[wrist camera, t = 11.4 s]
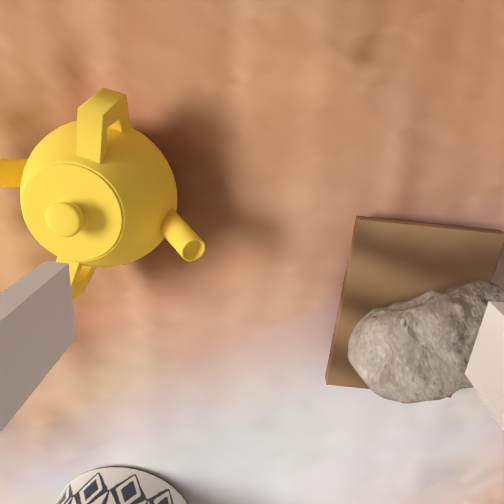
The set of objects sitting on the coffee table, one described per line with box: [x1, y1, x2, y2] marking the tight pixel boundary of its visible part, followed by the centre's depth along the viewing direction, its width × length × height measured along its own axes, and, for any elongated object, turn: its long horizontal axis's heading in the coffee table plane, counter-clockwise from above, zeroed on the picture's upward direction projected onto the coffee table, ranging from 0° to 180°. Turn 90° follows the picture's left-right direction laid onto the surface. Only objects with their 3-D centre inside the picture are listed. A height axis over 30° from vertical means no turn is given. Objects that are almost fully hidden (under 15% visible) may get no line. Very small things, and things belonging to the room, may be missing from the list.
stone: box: [348, 280, 504, 403], centre depth 34 cm, size 9×14×10 cm, turn 110°
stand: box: [325, 216, 504, 397], centre depth 40 cm, size 18×13×3 cm
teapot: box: [0, 88, 206, 299], centre depth 34 cm, size 20×18×11 cm
